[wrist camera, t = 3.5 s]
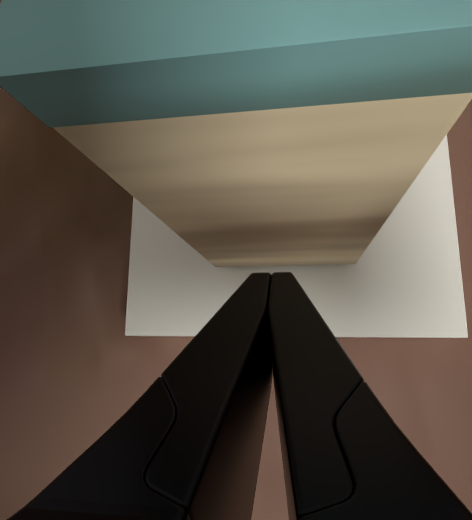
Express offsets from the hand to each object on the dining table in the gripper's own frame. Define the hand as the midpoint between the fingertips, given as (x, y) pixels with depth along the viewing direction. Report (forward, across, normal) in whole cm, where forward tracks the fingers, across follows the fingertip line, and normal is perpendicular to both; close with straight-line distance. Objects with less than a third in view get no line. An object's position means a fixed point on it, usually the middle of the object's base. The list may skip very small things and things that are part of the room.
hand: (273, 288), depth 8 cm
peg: (+7, 0, +1) cm, 7 cm away
